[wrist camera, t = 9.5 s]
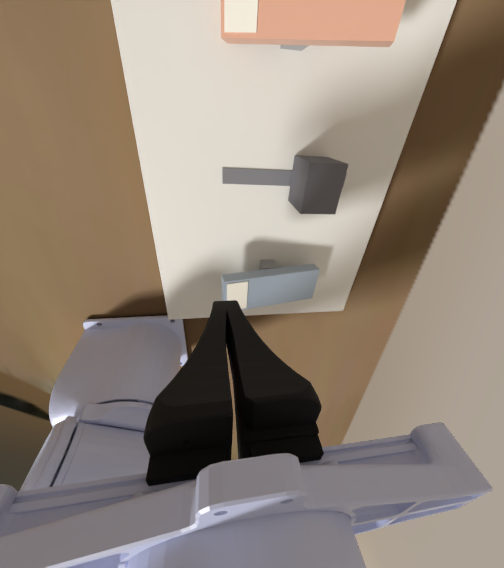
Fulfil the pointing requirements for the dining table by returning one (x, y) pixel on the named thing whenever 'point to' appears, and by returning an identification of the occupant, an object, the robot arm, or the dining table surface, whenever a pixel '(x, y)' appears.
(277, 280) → the plate
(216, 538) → the robot arm
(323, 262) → the switch panel
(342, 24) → the pink plate with label
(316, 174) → the block
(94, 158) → the dining table surface
